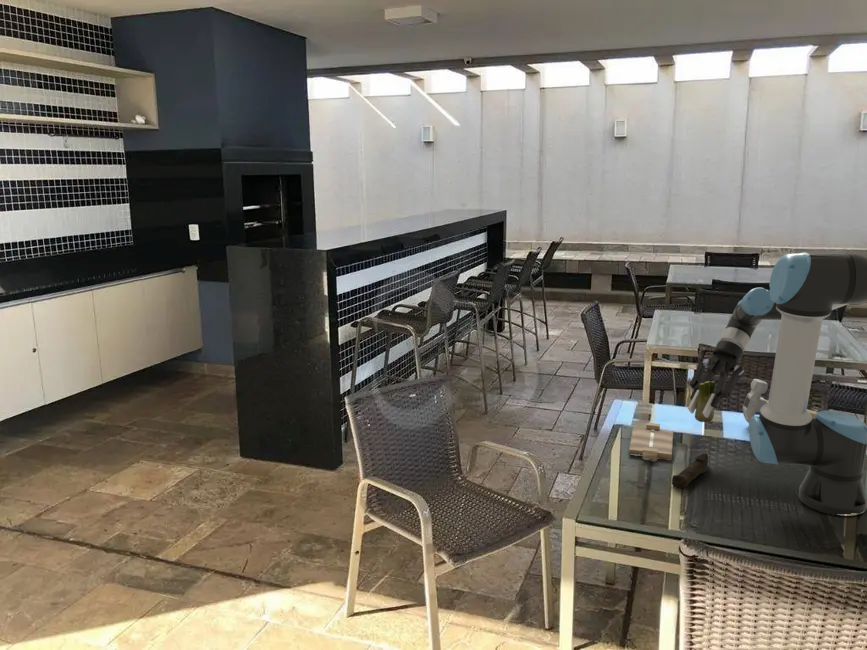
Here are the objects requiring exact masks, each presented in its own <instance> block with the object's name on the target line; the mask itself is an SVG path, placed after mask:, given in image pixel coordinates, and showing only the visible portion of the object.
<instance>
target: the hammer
mask: <svg viewBox="0 0 867 650" xmlns="http://www.w3.org/2000/svg"><path fill="white" fill-rule="evenodd" d="M750 388H751V389H750V391H749V392H748V393H747V395H746V396H745V399H744V401H743V404H742V406H741V407H742V413H743V417H744V419H745V421H746V422H747V423H748V424H749V421H750V419H751V418H752V417H754V416H756V415H755V414H756V413H760V409H761V407H762V406H763V405H765V404H767V403H768V401H769V399H768V400H767V399H765V398H764V397H762V396H761V395H762V394H766V393H767V390H768V388H769V384H768V383H767V382H766V381H765V380H761V379H758V378H753V380H752V381H751V382H750ZM807 411H808V412H809V413H810V414H811V416H812V419H814V418H816V417H815V415H816V414H817V412H818V411H815V410H812V409H807Z"/></svg>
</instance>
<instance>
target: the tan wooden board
mask: <svg viewBox="0 0 867 650" xmlns="http://www.w3.org/2000/svg"><path fill="white" fill-rule="evenodd" d="M673 435H674V431H672V430H664V429H661V423H656V422H655V423H653V422H646V427H638V426H637V427H636V426H633V427H632V431H631V438H630V443H629V449H628V455H629V454H637V455H638V454H640V455H643V457H645V458H649V459H653V460H656V461H657V462H658V459H657V458H662V459H670V460H671V461H672V458H673V440H674V439H673ZM643 457H642V458H643Z"/></svg>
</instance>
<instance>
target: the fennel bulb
mask: <svg viewBox="0 0 867 650" xmlns="http://www.w3.org/2000/svg"><path fill="white" fill-rule="evenodd" d="M715 386H716V381H711V380H710V381H707V382H704V383H700V384H699V399H698V403H697V407H696V409H695V411H694V418H695V420H696V421H698V423H699V422H700V423H710V422H712V421H713V419H714V417H715V415H714V414H715V407H713V408H712V410H711V412H710V414H709V416H708V418H707V417H705V416H704V414H703V413H702V412H703V410H704V408H705V406H706V404H707V402H708V400H709V398H710V396H711V394H712V393H713V394H715V392H714V391H715Z"/></svg>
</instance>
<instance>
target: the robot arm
mask: <svg viewBox="0 0 867 650" xmlns="http://www.w3.org/2000/svg"><path fill="white" fill-rule="evenodd" d="M866 303H867V256H865V255H862V254H857V253H849V252H845V253H830V252H828V253H827V252H826V253H825V252H822V253H821V252H806V251H805V252H804V251H803V252H800V253H799V252H797V253H788V254H787V253H786V254H784V255H782V256H781V257H780V258H779V259H778V260H777V261H776V263H775V265H774V266H773V268H772V272H771V274H770V279H769V289H766V288H764V287H755V288H752V289H750V290H749V291H748V292H747V293H746V294H744V296H743V297H742V299H741V300H739V301H738V303H737V305H736V306H735V308H734V309H733V312H732V313H731V315H730V318H729V320H728V322H727V324H726V327H725V328H724V330H723V332H722V334H721V335H720V338H719V339H718V340H719V341H718V342H717V343H716V346H715V347H714V349H713V352H712V354H711V356H709V357H708V358H703V357H699V359H698V365H697V368H696V369H695V371H694V374H693V376H692V378H691V381H690V383H689V387H690V388H691V389H692V391H693V392H692V393H691V395H690V403H689V405H688V407H687V410H688V411H689V412H690V413H691V414H695V412H696V407H697V403H698V399H699V384H700V383H704V382H707V381H709V382H711V380H712V379H713V377H716V375H718V374H719V376H718V381H717V385H716V388H715V390H714V394H713V393H712V394H711V396H710V398H709V400H708V402H707V404H706V406H705V408H704V410H703V412H702V413H703V414H704V416H705V417H707V418H708V416H709V414H710V412H711V410H712V408H713V407H714V408H717V407H718V405H719V402H720V401H721V399H724V398H725V399H726V400H727V399H729V398H730V396H731V394H732V392H733V391H734V389H735V387H736V385H737V383H738V381H739V380H740V378H741V377H742V376H743V375H745V370H744V368H743V366H739V363H740V360H741V358H742V357H743V355H744V351H746V348H747V346H748V345H749V342H750V340H751V337H752V335H753V334H754V332H755V330H756V328H757V327H758V325H759V324H760V323H761V321H763V320H767V321H768V320H772V321H773V320H774V321H780V324H779V330H778V335H777V336H778V337H777V345H776V349H775V355H774V356H775V357H774V362H773V364H774V365H773V369H772V375H771V381H770V387H769V395H768V403H767V404H765V405H763V406H762V407H761V409H760V412H759V415H754V417H752V418H751V419H750V421H749V423H748V435H749V441H750V446H751V449H752V452H753V455H754V457H755V458H756V459H757V460H758V461H759V462H760V463H763V464H774V465H794V466H795V465H796V466H797V465H798V466H809V469H808V471H807V473H806V475H805V477H804V478H803V480H802V482H801V483H800V485H799V489H798V499H799V501H800V502H801V503H802V504H804V505H805V506H806V507H808V508H810V509H811V510H814V509H815V510H814V511H816V510H817V512H819V513H822V512H823V513H822V514H825V513H827V514H826V515H829V514H833V515H832V516H834V515H837V514H851V513H860V512H863V511H864V510H865V509H866V510H867V494H866V491H865V486H864V482H863V475H864V470H865V463H866V458H867V424H866V423H865V422H864V421H862V420H861V419H859V418H857V417H855V416H852V415H850V414H847V413H843V412H839V411H833V410H821V411H820V410H819V411H816V412H817V414H816V415H815V417H816V418H814V419H812V416H811V414H810V413H809V412H808V411H807V410H808V403H809V399H810V398H809V397H810V392H811V386H812V380H813V375H814V370H815V364H816V363H815V362H816V358H817V354H818V353H817V352H818V348H819V341H820V335H821V328H822V325H823V320H824V319H826V318H828V317H829V316H830V315H831V314H832V311H834V310H836V309H839V308H842V307H846V306H847V305H848V306H859V305H863V304H866ZM708 364H709V366H708ZM706 368H707V370H706ZM731 372H732V373H731ZM730 373H731V376H730V377H729V374H730ZM728 378H729V379H728ZM727 380H728V381H727Z"/></svg>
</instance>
